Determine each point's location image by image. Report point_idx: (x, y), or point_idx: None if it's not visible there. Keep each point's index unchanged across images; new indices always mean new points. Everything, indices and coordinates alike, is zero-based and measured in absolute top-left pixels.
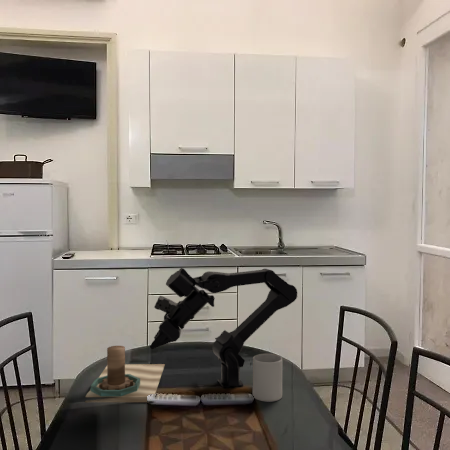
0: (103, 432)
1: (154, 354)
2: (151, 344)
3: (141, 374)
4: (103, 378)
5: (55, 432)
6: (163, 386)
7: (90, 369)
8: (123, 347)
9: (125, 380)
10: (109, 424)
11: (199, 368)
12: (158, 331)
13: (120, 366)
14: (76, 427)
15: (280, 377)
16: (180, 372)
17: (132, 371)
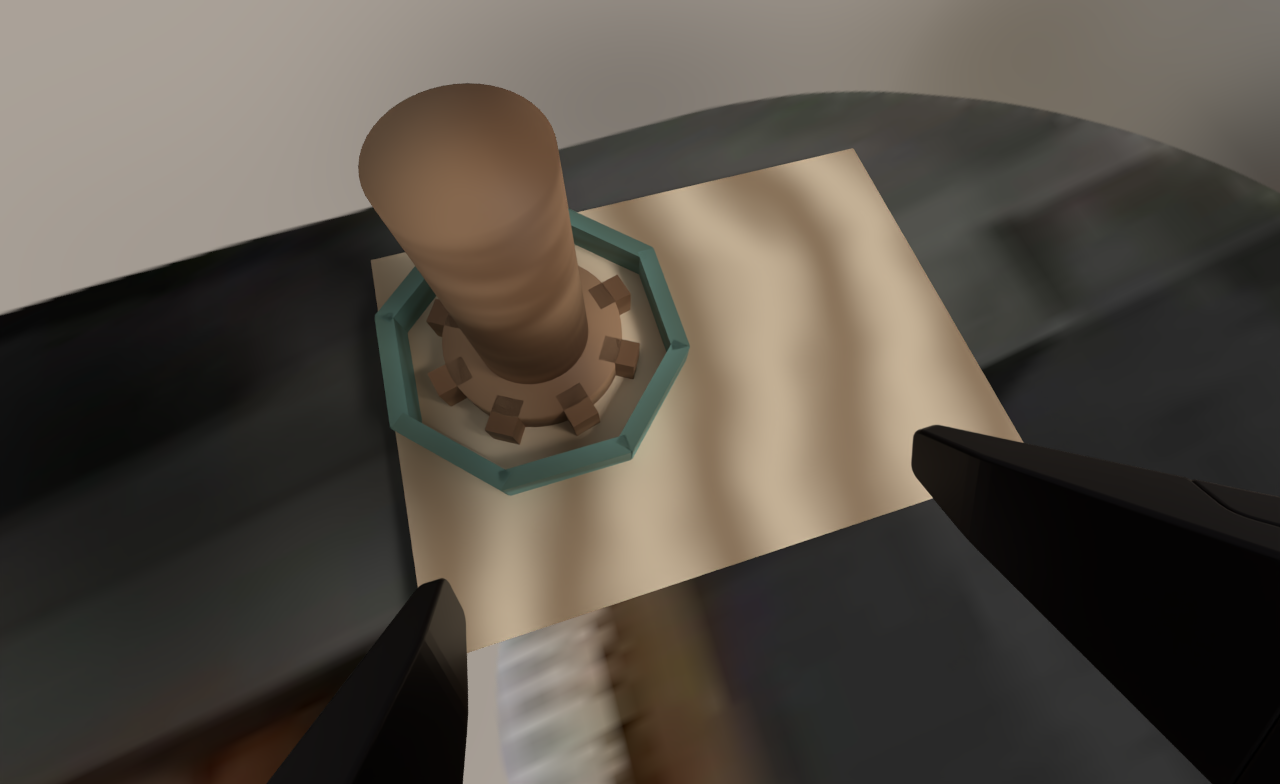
0: (8, 547)
1: (1198, 295)
2: (390, 631)
3: (783, 395)
4: (586, 235)
5: (37, 321)
6: (714, 601)
7: (797, 103)
8: (498, 211)
9: (573, 373)
10: (110, 530)
11: (1167, 741)
12: (1042, 483)
13: (459, 317)
14: (85, 383)
15: None
16: (1006, 614)
17: (809, 319)
